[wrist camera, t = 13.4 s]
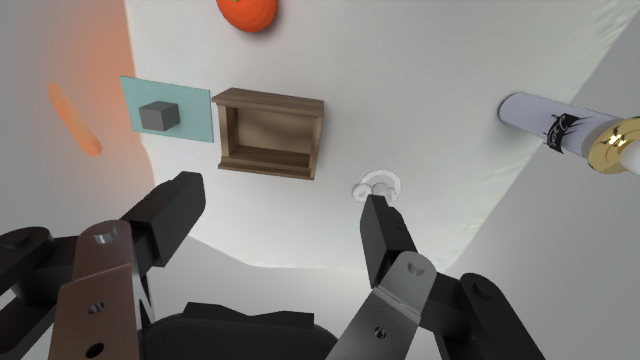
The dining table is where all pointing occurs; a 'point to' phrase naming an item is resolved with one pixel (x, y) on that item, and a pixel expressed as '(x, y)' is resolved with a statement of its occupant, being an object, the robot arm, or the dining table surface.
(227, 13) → the clementine
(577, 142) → the perfume bottle
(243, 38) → the dining table surface
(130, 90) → the cover plate
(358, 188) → the teacup and saucer
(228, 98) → the box
